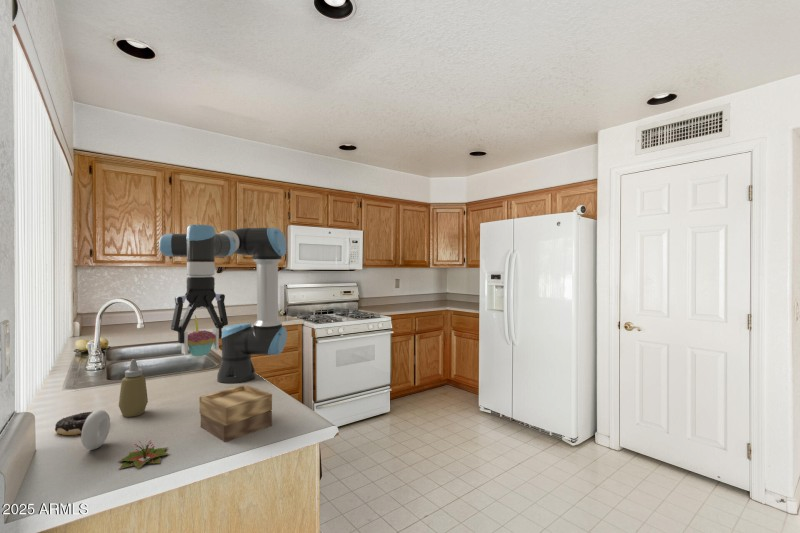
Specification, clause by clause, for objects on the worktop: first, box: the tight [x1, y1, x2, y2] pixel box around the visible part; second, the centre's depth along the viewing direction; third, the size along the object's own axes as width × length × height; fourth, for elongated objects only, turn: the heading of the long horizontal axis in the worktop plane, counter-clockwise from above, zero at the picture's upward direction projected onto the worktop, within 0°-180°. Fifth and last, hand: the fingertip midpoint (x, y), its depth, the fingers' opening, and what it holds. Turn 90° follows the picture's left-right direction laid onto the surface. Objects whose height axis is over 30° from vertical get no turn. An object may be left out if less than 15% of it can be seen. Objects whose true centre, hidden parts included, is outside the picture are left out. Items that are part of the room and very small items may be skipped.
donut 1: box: [54, 411, 93, 436], centre depth 119 cm, size 11×12×4 cm
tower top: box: [199, 384, 273, 426], centre depth 122 cm, size 15×15×5 cm
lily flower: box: [117, 439, 171, 470], centre depth 101 cm, size 12×12×5 cm
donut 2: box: [80, 409, 111, 451], centre depth 107 cm, size 10×4×10 cm, turn 12°
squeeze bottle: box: [118, 358, 149, 418], centre depth 130 cm, size 8×8×18 cm
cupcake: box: [188, 315, 216, 357], centre depth 120 cm, size 9×8×12 cm
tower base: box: [200, 410, 273, 443], centre depth 122 cm, size 15×15×5 cm
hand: (200, 351), depth 120 cm, fingers closed on cupcake, 8 cm apart
